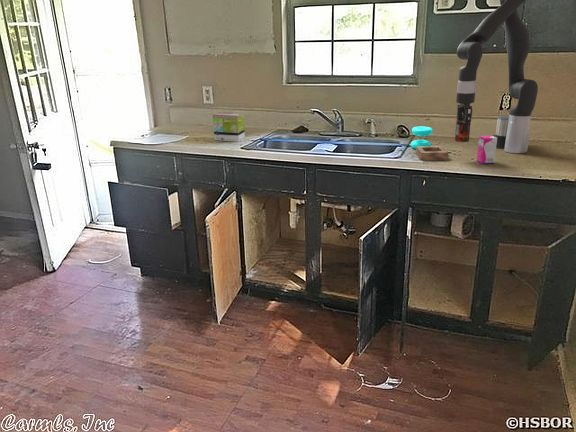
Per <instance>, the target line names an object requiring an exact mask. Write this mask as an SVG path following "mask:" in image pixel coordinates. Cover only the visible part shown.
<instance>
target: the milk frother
mask: <svg viewBox="0 0 576 432" xmlns="http://www.w3.org/2000/svg"><path fill="white" fill-rule="evenodd" d="M496 117H497V122H496V127H495V129H496V131H495V134H493V135H491V136H494V137H496V138H497V144H496V149H501V150H502V149H503V150H504V147H505V140H506V133H507V126H508V119H509V115H498V116H496Z"/></svg>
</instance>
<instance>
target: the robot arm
mask: <svg viewBox="0 0 576 432" xmlns="http://www.w3.org/2000/svg"><path fill="white" fill-rule="evenodd" d="M525 1H526V0H499V4H500V5H499V6H498V7H497V8H496V9H494V10H493V11H492V12H491V13H489V14H488V15H487V16H485V18H484V19H483V20H481V22H480V24H479V25H477V27H476V28H475V30H474V31H473V32H472V33H470V34H469V35H468V36H467V37H465V39H463V40H462V41H461V42H459V43H460V44H459V45H458V47H457V50H456V56H457V57H458V58H459V59H460V60H463V61H464V60H465V61H467V62H466V64H465V65H463V66H460V67H459V71H458V80H457V81H458V82H457V87H456V97H455V99H456V100H455V102H456V103H457V106H456V108H458V106H462V107H464V113H465V116H464V115H463V113H462V118H463V128H462V131H463V132H468V124H469V123H470V122H471V123H472V115H473V108H472V109H470V106H471V104H474V103H475V101H476V100H475V99H476V91H477V90H476V89H477V71H478V69H479V66H480V63H481V60H482V57H483V53H484V49H483V46H482V45H483V44H487V42H489V40H490V39H491V38H492V37H493V36H494V34H495V33H496V32H497V30H498V29H499V27H501V25H502V24H504V25H503V27H504V34H505V47H506V52H507V63H508V66H507V67H508V92H509V96H510V98H512V99H515V100H517V104H516V105H515V106H514V107H511V108H510V109H509V114H508V116H509V119H508V126H507V133H506V140H505V147H504V149H503V151H504V152H506V153H509V154H524V153H528V149H529V142H530V135H531V132H530V126H531V125H530V124H531V117H532V114H533V113H532V112H533V110H534V108H535V105H536V103H537V102H536V101H537V96H538V92H539V91H538V90H539V87H538V83H537V81H535V80H534V79H528V78H527V79H526V78H525V71H524V67H525V63H526V60H527V57H528V55H529V53H530V49H531V44H530V43H531V42H530V41H531V40H530V33H529V30H528V28H527V26H526V25H525V23H524V21H523V20H522V19H521V17H520V15H519V12H518V8H519V7H520V6H521V5H522V4H524V3H525ZM467 118H468V120H466V119H467Z"/></svg>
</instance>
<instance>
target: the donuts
mask: <svg viewBox="0 0 576 432" xmlns="http://www.w3.org/2000/svg"><path fill="white" fill-rule="evenodd" d="M411 133H412V134H413V135H414V136H417V137H428V136H431V135H432V134H433V128H432V127H429V126H414V127H413V128H412V129H411ZM421 146H432V143H431V141H429V140H426V139H416V140H415V139H414V140H413V141H411V143H410V147H411V148H412V149H414V150H416V147H421Z"/></svg>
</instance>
